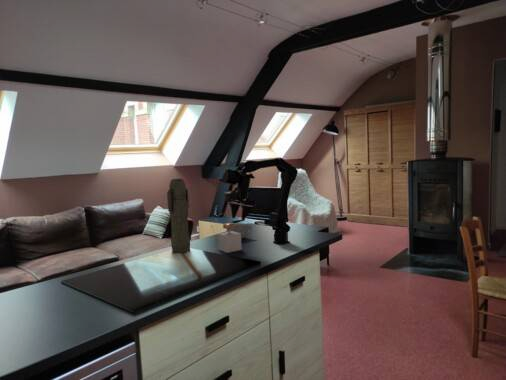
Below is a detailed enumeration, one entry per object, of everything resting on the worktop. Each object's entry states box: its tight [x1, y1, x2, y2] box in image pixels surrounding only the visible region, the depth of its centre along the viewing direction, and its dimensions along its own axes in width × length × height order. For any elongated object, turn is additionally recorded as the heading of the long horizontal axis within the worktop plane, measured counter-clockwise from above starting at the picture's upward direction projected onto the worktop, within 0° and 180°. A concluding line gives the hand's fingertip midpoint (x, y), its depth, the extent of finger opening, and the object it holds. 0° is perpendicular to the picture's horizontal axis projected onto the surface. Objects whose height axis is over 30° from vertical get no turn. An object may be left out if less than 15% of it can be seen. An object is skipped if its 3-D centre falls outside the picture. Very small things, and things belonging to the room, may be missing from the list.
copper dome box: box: [217, 231, 242, 254], centre depth 187 cm, size 8×10×8 cm
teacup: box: [226, 222, 253, 240], centre depth 210 cm, size 14×11×8 cm
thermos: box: [166, 178, 191, 254], centre depth 185 cm, size 9×12×35 cm
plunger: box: [222, 222, 235, 234], centre depth 185 cm, size 6×6×7 cm
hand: (237, 219), depth 183 cm, fingers open, 9 cm apart
